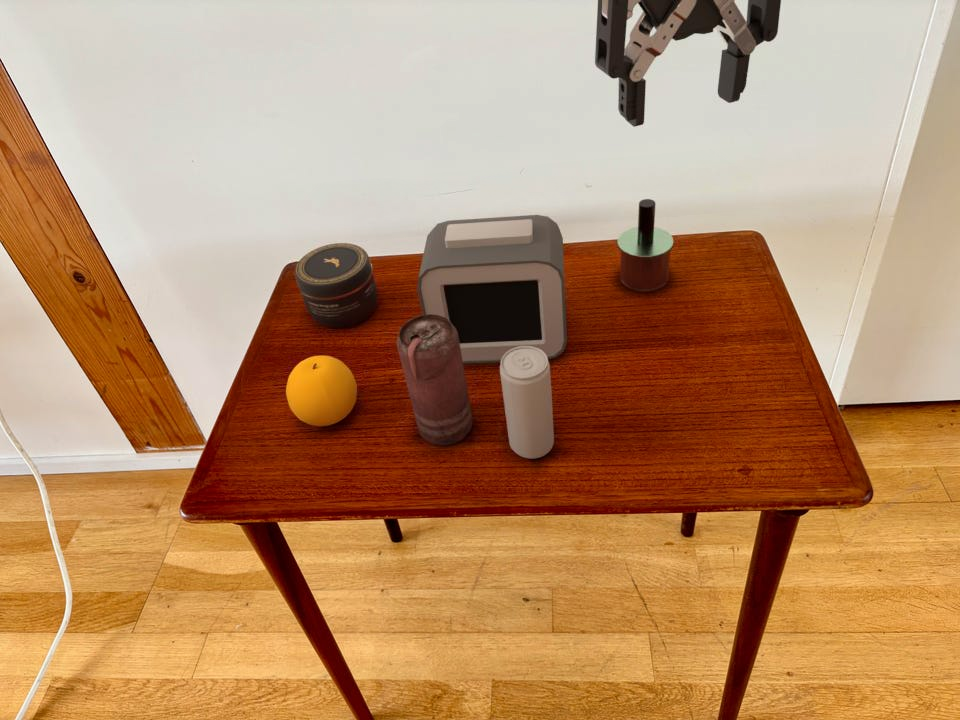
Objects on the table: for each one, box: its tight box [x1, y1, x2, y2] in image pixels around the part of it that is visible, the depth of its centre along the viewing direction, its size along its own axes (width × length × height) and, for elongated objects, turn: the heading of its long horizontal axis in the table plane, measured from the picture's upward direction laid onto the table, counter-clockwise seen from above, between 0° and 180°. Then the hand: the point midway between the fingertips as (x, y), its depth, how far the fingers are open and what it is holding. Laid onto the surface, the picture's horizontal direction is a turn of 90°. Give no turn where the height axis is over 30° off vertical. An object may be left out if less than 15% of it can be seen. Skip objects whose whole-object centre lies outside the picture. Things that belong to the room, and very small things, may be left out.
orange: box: [285, 355, 358, 427], centre depth 80 cm, size 8×8×8 cm
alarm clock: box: [416, 214, 568, 365], centre depth 85 cm, size 16×11×16 cm
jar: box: [294, 242, 378, 329], centre depth 95 cm, size 10×10×8 cm
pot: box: [619, 250, 672, 293], centre depth 93 cm, size 6×6×5 cm
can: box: [396, 314, 474, 447], centre depth 74 cm, size 6×6×14 cm
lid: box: [617, 198, 674, 260], centre depth 89 cm, size 7×7×7 cm
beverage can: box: [499, 346, 555, 460], centre depth 72 cm, size 5×5×12 cm
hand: (681, 110), depth 58 cm, fingers open, 8 cm apart
